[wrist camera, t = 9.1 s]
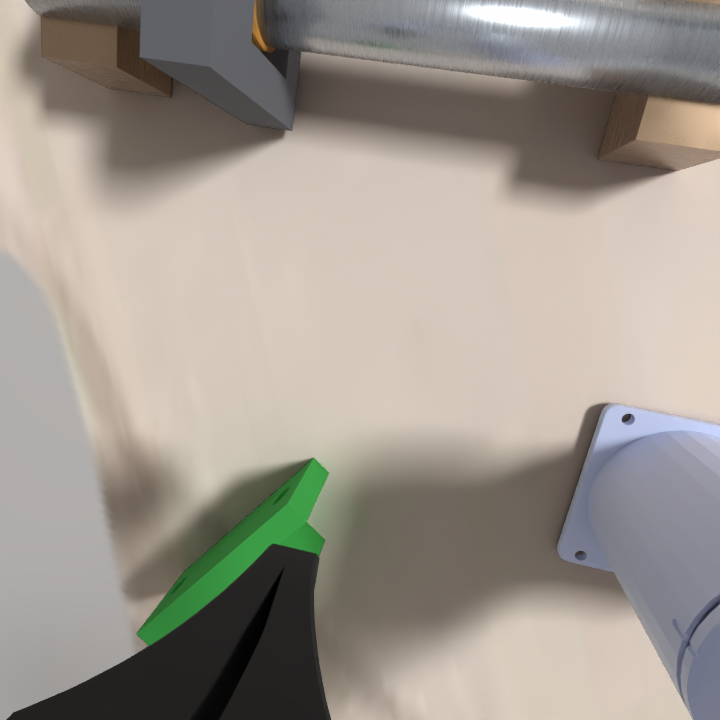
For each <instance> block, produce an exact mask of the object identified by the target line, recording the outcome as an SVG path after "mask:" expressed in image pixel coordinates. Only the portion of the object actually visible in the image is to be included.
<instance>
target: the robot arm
mask: <svg viewBox="0 0 720 720" xmlns="http://www.w3.org/2000/svg"><path fill="white" fill-rule="evenodd" d="M625 414H631V418H630V420H628V421H626V422H622V417H623V416H624V415H625ZM557 551H558V554H559V556H560V558H561V559H563V560H565V561H568V562H572V563H576V564H580V565H584V566H588V567H593V568H597V569H601V570H605V571H609V572H613V573H614V574H615V576H616V578H617V579H618V581H619V583H620V585H621V587H622V589H623V591H624V592H625V594H626V596H627V598H628V600H629V602H630V604H631V605H632V607H633V609H634V611H635V613H636V615H637V617H638V618H639V620H640V622H641V624H642V626H643V628H644V630H645V631H646V633H647V635H648V637H649V639H650V641H651V643H652V644H653V646H654V648H655V650H656V652H657V654H658V656H659V657H660V659H661V661H662V663H663V665H664V667H665V669H666V670H667V672H668V674H669V676H670V678H671V680H672V682H673V683H674V685H675V687H676V689H677V691H678V693H679V695H680V696H681V698H682V700H683V702H684V704H685V706H686V708H687V709H688V711H689V713H690V715H691V717H692V719H693V720H720V424H716V423H711V422H706V421H701V420H696V419H691V418H687V417H682V416H677V415H672V414H667V413H662V412H657V411H652V410H647V409H642V408H637V407H632V406H627V405H622V404H617V403H612V404H609V405H607V406H605V407H604V408H603V410H602V412H601V414H600V417H599V420H598V424H597V427H596V430H595V433H594V436H593V439H592V442H591V445H590V448H589V451H588V454H587V457H586V460H585V463H584V466H583V469H582V472H581V475H580V478H579V481H578V484H577V487H576V490H575V493H574V496H573V499H572V502H571V505H570V508H569V511H568V514H567V517H566V521H565V524H564V527H563V530H562V533H561V536H560V539H559V542H558V545H557ZM578 551H584V552H583V554H581V555H576V554H575V553H576V552H578ZM318 564H319V557H318V555H317V554H316V553H312V552H308V551H304V550H300V549H295V548H291V547H287V546H282V545H278V544H274V543H273V544H272V545H270V546H269V547H268V548H267V549H266V550H265V551H264V552H263V553H262V554H261V555H260V556H259V557H258V558H257V559H256V560H255V561H254V562H253V563H252V564H251V565H250V566H249V567H248V568H247V569H246V570H245V571H244V572H243V573H242V574H241V575H240V576H239V577H238V578H237V579H236V580H235V581H234V582H232V583H231V584H230V585H229V586H228V587H227V588H226V589H225V590H224V591H222V592H221V593H220V594H219V595H218V596H217V597H215V598H214V599H213V600H212V601H210V602H209V603H208V604H207V605H206V606H204V607H203V608H202V609H201V610H199V611H198V612H197V613H196V614H194V615H193V616H192V617H190V618H189V619H188V620H186V621H185V622H184V623H182V624H181V625H180V626H178V627H177V628H175V629H174V630H172V631H171V632H170V633H168V634H167V635H165V636H164V637H162V638H161V639H159V640H158V641H156V642H154V643H153V644H151V645H150V646H148V647H146V648H145V649H143V650H142V651H140V652H138V653H137V654H135V655H134V656H132V657H130V658H128V659H127V660H125V661H123V662H121V663H120V664H118V665H116V666H114V667H112V668H110V669H108V670H106V671H104V672H103V673H101V674H99V675H97V676H95V677H93V678H91V679H89V680H87V681H85V682H83V683H81V684H79V685H77V686H75V687H73V688H71V689H69V690H67V691H64V692H62V693H59V694H57V695H55V696H52V697H50V698H48V699H45V700H43V701H40V702H38V703H36V704H33V705H31V706H29V707H26V708H24V709H21V710H19V711H16V712H14V713H13V714H12V715H11V716H10V717H9V718H8V719H7V720H331V718H330V714H329V710H328V706H327V702H326V697H325V692H324V687H323V683H322V677H321V671H320V665H319V659H318V651H317V642H316V633H315V619H314V588H315V582H316V576H317V570H318Z"/></svg>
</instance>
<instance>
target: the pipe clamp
mask: <svg viewBox="0 0 720 720" xmlns="http://www.w3.org/2000/svg"><path fill="white" fill-rule="evenodd" d="M328 474H329V472H328V471H327V470H326V469H325V468H324V467H323V466H322V465H321V464H320V463H319V462H318V461H317V460H316V459H315V458H313V459H312V460H311V461H309V462H308V463H307V464H306V465H305V466H304V467H303V468H301V469H300V470H299V471H298V472H297V473H296V474H295V475H293V476H292V477H291V478H290V479H289V480H288V481H287V482H286V483H284V484H283V485H282V486H281V487H280V488H279V489H278V490H276V491H275V492H274V493H273V494H272V495H271V496H270V497H269V498H267V499H266V500H265V501H264V502H263V503H262V504H261V505H259V506H258V507H257V508H256V509H255V510H254V511H253V512H251V513H250V514H249V515H248V516H247V517H246V518H245V519H244V520H242V521H241V522H240V523H239V524H238V525H237V526H236V527H234V528H233V529H232V530H231V531H230V532H229V533H228V534H227V535H225V536H224V537H223V538H222V539H221V540H220V541H219V542H217V543H216V544H215V545H214V546H213V547H212V548H211V549H209V550H208V551H207V552H206V553H205V554H204V555H203V556H202V557H200V558H199V559H198V560H197V561H196V562H195V563H194V564H192V565H191V566H190V567H189V568H188V569H187V570H186V571H185V572H183V574H182V575H181V576H180V577H179V579H178V580H177V581H176V583H175V584H174V585H173V587H172V588H171V589H170V590H169V592H168V593H167V594H166V596H165V597H164V598H163V600H162V601H161V602H160V604H159V605H158V606H157V607H156V609H155V610H154V611H153V613H152V614H151V615H150V617H149V618H148V619H147V620H146V622H145V623H144V624H143V626H142V627H141V628H140V630H139V631H138V632H137V633H136V634H137V635H138V636H139V637H140V638H141V639H142V640H143V641H144V642H145V643H146V644H147V645H148V646H150V645H151V644H153V643H154V642H156V641H158V640H159V639H161V638H162V637H164V636H165V635H167V634H168V633H170V632H171V631H172V630H174V629H175V628H177V627H178V626H180V625H181V624H182V623H184V622H185V621H186V620H188V619H189V618H190V617H192V616H193V615H194V614H196V613H197V612H198V611H199V610H201V609H202V608H203V607H204V606H206V605H207V604H208V603H209V602H210V601H212V600H213V599H214V598H215V597H217V596H218V595H219V594H220V593H221V592H222V591H224V590H225V589H226V588H227V587H228V586H229V585H230V584H231V583H232V582H234V581H235V580H236V579H237V578H238V577H239V576H240V575H241V574H242V573H243V572H244V571H245V570H246V569H247V568H248V567H249V566H250V565H251V564H252V563H253V562H254V561H255V560H256V559H257V558H258V557H259V556H260V555H261V554H262V553H263V552H264V551H265V550H266V549H267V548H268V547H269V546H270V545H272V544H273V543H274V544H278V545H282V546H287V547H291V548H295V549H300V550H304V551H308V552H312V553H316V554H317V555H318V557H319V555H320V552H321V550H322V547H323V544H324V542H325V540H324V539H323V538H322V537H321V536H320V535H319V534H318V533H317V532H316V531H315V530H314V529H313V528H312V527H311V526H310V525H309V524H308V523H307V520H308V517H309V515H310V513H311V511H312V509H313V507H314V504H315V502H316V500H317V498H318V496H319V494H320V492H321V489H322V487H323V485H324V483H325V481H326V479H327V476H328Z"/></svg>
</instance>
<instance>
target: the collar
mask: <svg viewBox="0 0 720 720" xmlns="http://www.w3.org/2000/svg"><path fill="white" fill-rule="evenodd" d="M254 6H255V0H141V25H140V58H142V59H143V60H145V61H147V62H148V63H150V64H151V65H153V66H155V67H156V68H158V69H159V70H161V71H163V72H164V73H166V74H167V75H169V76H171V77H172V78H174V79H175V80H177V81H179V82H180V83H182V84H183V85H185V86H187V87H188V88H190V89H191V90H193V91H195V92H196V93H198V94H199V95H201V96H203V97H204V98H206V99H207V100H209V101H211V102H212V103H214V104H215V105H217V106H219V107H220V108H222V109H223V110H225V111H227V112H228V113H230V114H231V115H233V116H235V117H236V118H238V119H239V120H241V121H243V122H244V123H246V124H250V125H256V126H263V127H270V128H277V129H283V130H290V131H292V128H293V119H294V110H295V101H296V92H297V84H298V75H299V66H300V57H301V51H294V50H286V49H278V48H275V50H274V51H273V52H262V51H260V50H259V49H258V48H257V47H256V46H255V45H254V44H253V43H252V42H251V41H252V29H253V18H254Z"/></svg>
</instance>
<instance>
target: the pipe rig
mask: <svg viewBox="0 0 720 720" xmlns="http://www.w3.org/2000/svg"><path fill="white" fill-rule="evenodd" d="M25 1H26V2H27V4H28V5H29V6H30V7H31V8H32V9H33V10H34V11H35V12H36V13H37V14H39V15H40V16H41V42H42V57H43V58H46V59H48V60H50V61H52V62H54V63H56V64H58V65H60V66H63V67H65V68H67V69H69V70H71V71H73V72H75V73H77V74H79V75H82V76H84V77H86V78H88V79H90V80H92V81H94V82H96V83H99V84H101V85H103V86H105V87H107V88H111V89H118V90H125V91H132V92H138V93H145V94H152V95H159V96H166V97H171V95H172V77H171V76H169V75H167V74H166V73H164V72H163V71H161V70H159V69H158V68H156V67H155V66H153V65H151V64H150V63H148V62H147V61H145V60H143V59H142V58H140V25H141V0H25ZM251 42H252V43H253V44H254V45H255V46H256V47H257V48H258V49H259V50H260V51H262V52H273V51H274V50H275V48H278V49H286V50H294V51H302V52H309V53H317V54H325V55H333V56H340V57H348V58H356V59H364V60H371V61H379V62H387V63H395V64H402V65H410V66H418V67H426V68H434V69H441V70H449V71H457V72H465V73H472V74H480V75H488V76H496V77H503V78H511V79H519V80H527V81H534V82H542V83H550V84H558V85H565V86H573V87H581V88H589V89H596V90H604V91H612V92H616V96H615V99H614V103H613V106H612V110H611V113H610V117H609V121H608V124H607V128H606V131H605V135H604V138H603V142H602V145H601V149H600V152H599V156H598V159H600V160H607V161H614V162H621V163H628V164H635V165H642V166H649V167H656V168H663V169H669V170H676V171H679V170H682V169H685V168H689V167H692V166H696V165H699V164H702V163H706V162H709V161H712V160H716V159H719V158H720V0H255V6H254V18H253V29H252V41H251Z"/></svg>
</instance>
